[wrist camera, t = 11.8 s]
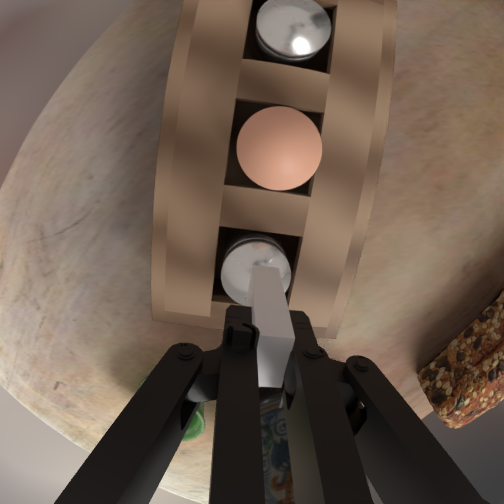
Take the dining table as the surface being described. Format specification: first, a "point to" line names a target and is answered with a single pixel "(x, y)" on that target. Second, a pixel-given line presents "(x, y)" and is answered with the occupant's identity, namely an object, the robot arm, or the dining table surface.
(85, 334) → the dining table surface
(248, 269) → the plug
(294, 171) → the plug terracotta
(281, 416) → the beer stein
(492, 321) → the bread
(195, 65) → the block
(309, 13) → the plug
